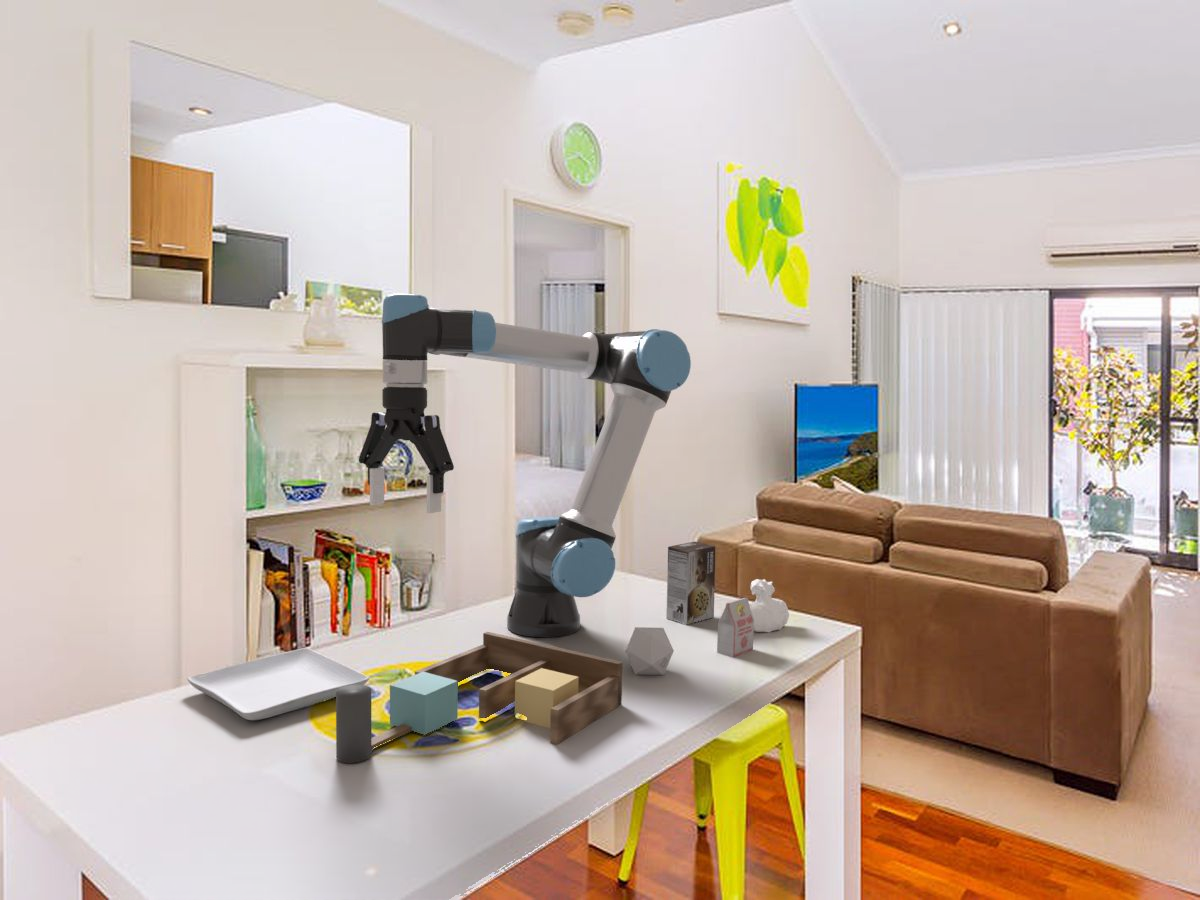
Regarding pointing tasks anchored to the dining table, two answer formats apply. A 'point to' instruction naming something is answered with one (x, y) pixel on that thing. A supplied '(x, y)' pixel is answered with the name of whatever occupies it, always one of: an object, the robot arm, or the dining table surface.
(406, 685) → the block
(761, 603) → the bust
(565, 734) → the lane rack
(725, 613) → the white gable top carton
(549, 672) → the block
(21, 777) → the dining table surface
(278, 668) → the salad plate
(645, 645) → the die
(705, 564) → the food box
